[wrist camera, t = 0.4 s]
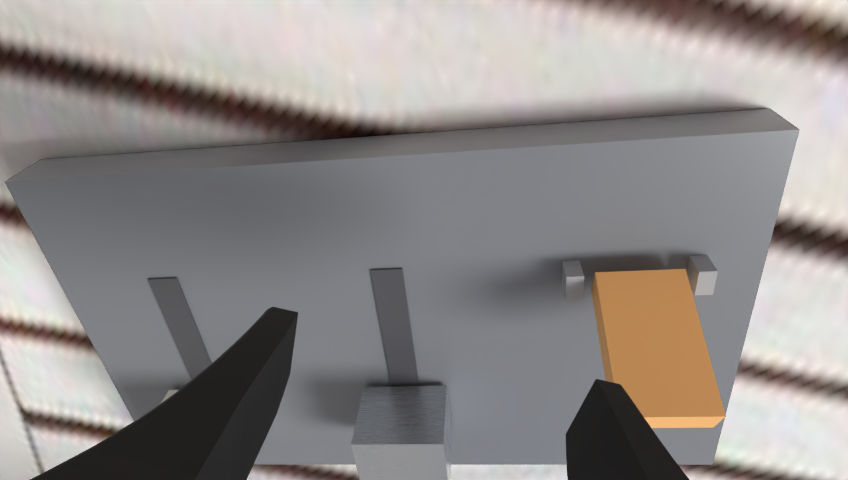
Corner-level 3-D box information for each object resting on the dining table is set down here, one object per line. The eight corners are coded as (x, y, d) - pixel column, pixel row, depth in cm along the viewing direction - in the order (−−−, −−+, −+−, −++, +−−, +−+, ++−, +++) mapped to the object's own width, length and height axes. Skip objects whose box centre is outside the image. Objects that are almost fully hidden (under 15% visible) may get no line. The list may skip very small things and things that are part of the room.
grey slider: (451, 432, 25) (449, 492, 23) (374, 433, 26) (363, 492, 23) (446, 385, 24) (443, 444, 21) (364, 386, 24) (350, 444, 22)
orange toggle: (676, 285, 20) (713, 427, 17) (591, 288, 20) (613, 428, 18) (685, 268, 19) (725, 416, 16) (595, 272, 19) (619, 417, 17)
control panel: (697, 428, 27) (720, 484, 24) (175, 432, 30) (147, 481, 28) (770, 108, 19) (816, 141, 16) (40, 159, 22) (-16, 193, 19)
